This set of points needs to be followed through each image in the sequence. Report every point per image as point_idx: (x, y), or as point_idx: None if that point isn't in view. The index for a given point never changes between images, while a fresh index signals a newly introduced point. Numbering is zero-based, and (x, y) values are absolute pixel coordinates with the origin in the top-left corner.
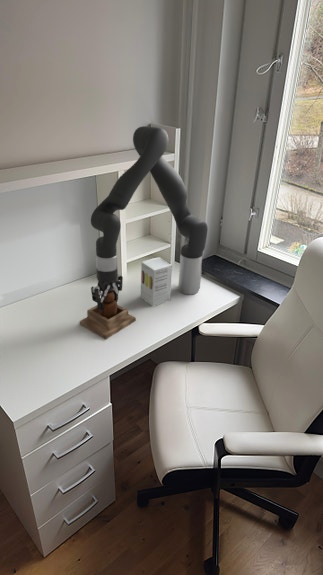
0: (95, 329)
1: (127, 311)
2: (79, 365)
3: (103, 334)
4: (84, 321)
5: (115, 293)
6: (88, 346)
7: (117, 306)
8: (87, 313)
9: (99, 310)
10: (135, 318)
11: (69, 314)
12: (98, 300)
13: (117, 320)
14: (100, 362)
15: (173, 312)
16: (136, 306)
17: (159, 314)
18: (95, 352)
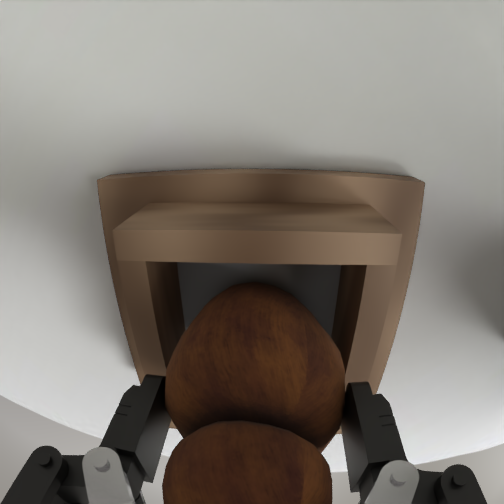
0: (125, 322)
1: (340, 431)
2: (17, 371)
3: (137, 374)
4: (118, 208)
5: (361, 492)
6: (64, 343)
7: (355, 371)
8: (126, 223)
9: (179, 341)
10: (372, 390)
11: (140, 24)
12: (76, 502)
13: None
14: (71, 411)
15: (482, 410)
16: (489, 294)
17: (458, 397)
18: (74, 380)
